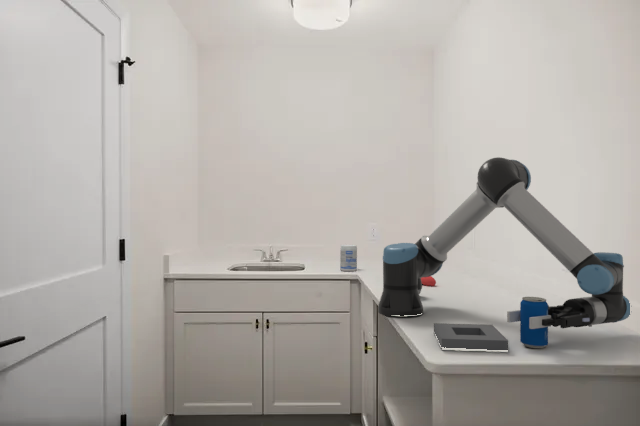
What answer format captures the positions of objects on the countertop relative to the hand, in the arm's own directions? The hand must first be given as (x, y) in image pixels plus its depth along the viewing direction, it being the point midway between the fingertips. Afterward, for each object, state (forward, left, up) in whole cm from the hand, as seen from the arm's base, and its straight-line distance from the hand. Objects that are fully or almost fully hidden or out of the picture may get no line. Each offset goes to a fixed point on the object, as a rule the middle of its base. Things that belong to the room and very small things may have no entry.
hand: (519, 320), depth 117 cm
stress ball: (-99, -12, -8) cm, 100 cm away
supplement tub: (-147, -52, -8) cm, 156 cm away
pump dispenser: (-69, -23, -8) cm, 73 cm away
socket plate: (-5, -12, -7) cm, 14 cm away
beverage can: (-3, +4, -7) cm, 9 cm away
